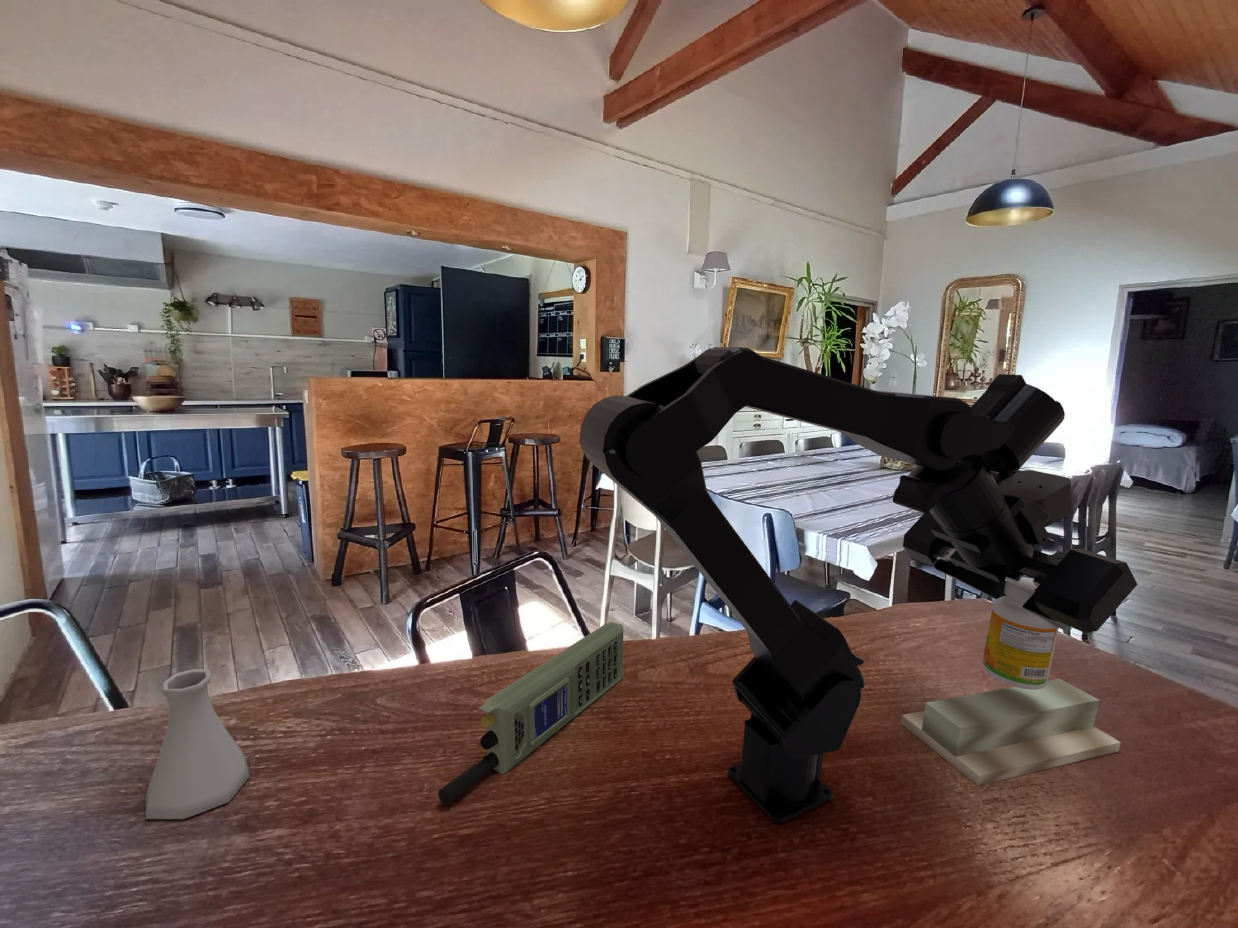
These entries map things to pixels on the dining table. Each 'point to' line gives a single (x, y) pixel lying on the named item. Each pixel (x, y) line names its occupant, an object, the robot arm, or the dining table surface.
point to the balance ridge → (1012, 730)
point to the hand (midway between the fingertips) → (1035, 612)
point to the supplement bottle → (1019, 640)
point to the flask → (193, 753)
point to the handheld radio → (543, 703)
